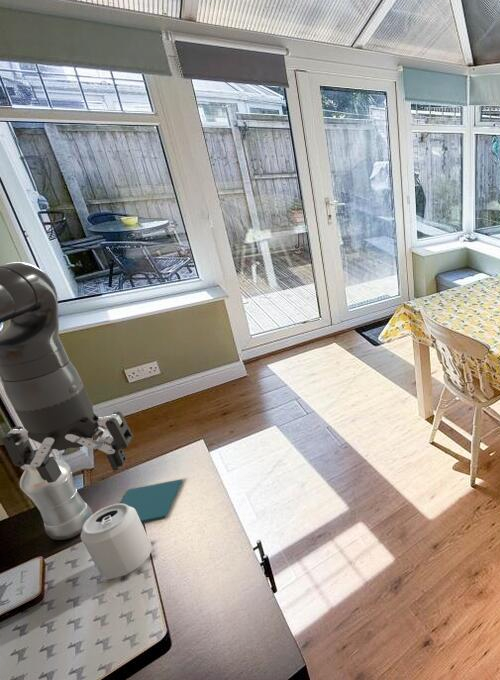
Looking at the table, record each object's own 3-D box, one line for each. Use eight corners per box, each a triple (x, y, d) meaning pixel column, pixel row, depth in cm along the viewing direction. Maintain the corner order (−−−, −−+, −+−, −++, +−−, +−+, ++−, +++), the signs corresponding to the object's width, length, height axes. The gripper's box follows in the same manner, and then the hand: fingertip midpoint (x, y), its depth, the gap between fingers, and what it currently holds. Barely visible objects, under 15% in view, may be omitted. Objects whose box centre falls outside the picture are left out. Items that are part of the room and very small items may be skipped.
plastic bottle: (60, 522, 85) (18, 447, 77) (103, 511, 87) (66, 438, 79) (43, 550, 80) (-4, 472, 72) (89, 538, 82) (47, 462, 74)
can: (150, 535, 83) (131, 492, 78) (156, 562, 78) (135, 518, 73) (100, 560, 78) (76, 516, 73) (102, 590, 73) (77, 545, 68)
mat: (106, 530, 84) (105, 528, 83) (129, 491, 92) (128, 489, 92) (165, 517, 87) (164, 515, 87) (182, 481, 95) (181, 479, 95)
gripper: (118, 372, 68) (148, 448, 75) (4, 386, 64) (47, 465, 70) (94, 399, 62) (129, 479, 68) (-35, 417, 57) (16, 501, 64)
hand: (87, 472), depth 69 cm, fingers open, 8 cm apart
